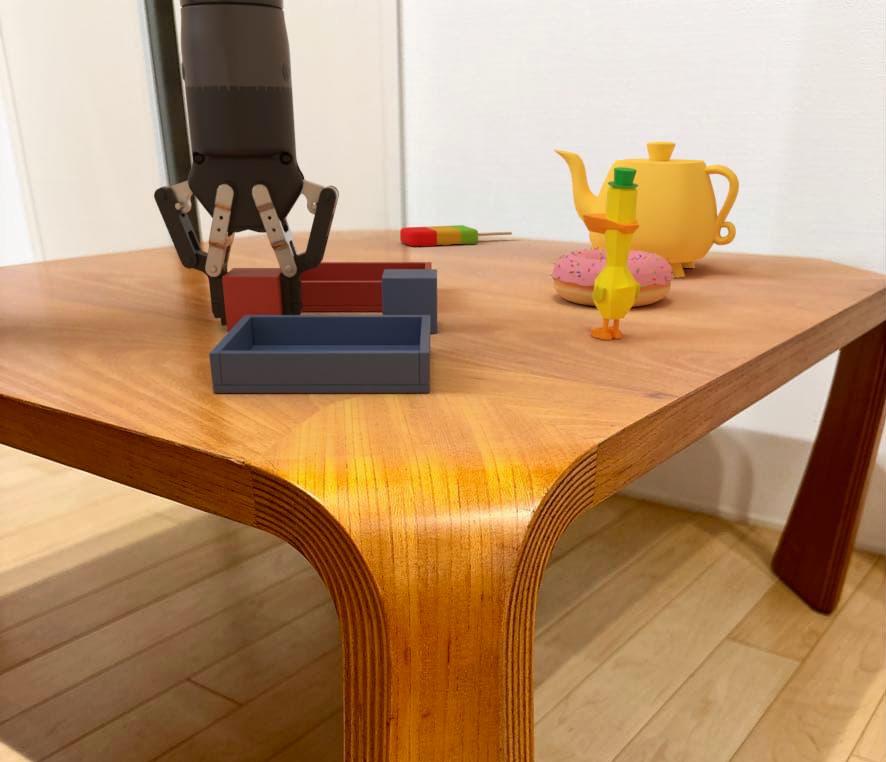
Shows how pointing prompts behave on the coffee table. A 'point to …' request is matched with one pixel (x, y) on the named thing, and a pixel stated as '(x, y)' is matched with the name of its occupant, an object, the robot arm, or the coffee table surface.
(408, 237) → the popsicle
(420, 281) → the blue block
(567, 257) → the doughnut
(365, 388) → the blue tray
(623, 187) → the toy figure
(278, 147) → the robot arm
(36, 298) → the coffee table surface
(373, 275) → the red tray
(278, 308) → the red block
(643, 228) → the teapot
